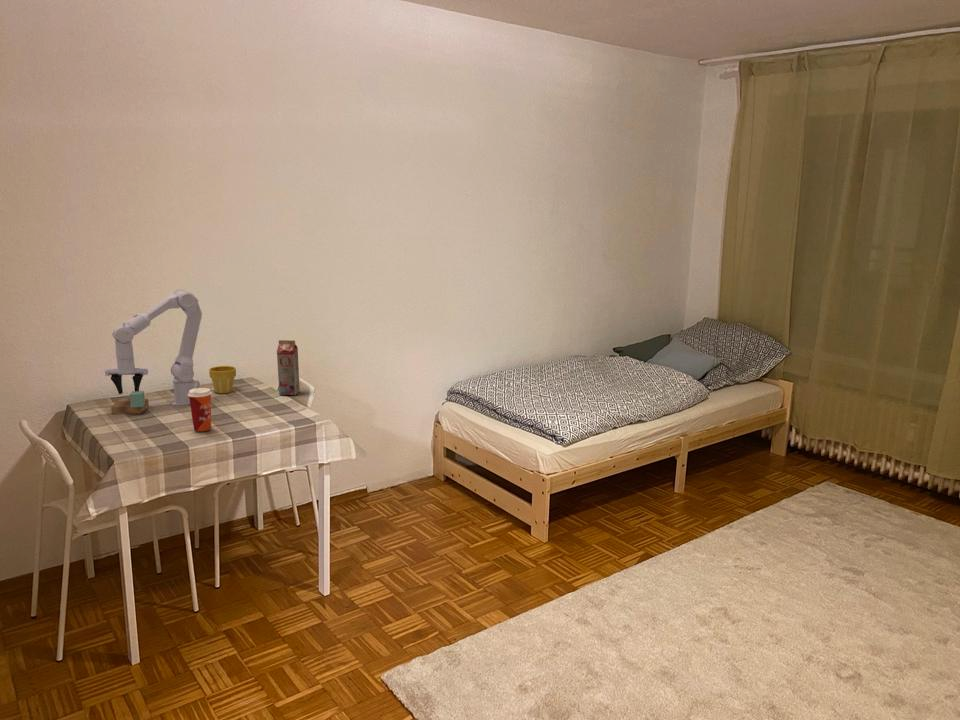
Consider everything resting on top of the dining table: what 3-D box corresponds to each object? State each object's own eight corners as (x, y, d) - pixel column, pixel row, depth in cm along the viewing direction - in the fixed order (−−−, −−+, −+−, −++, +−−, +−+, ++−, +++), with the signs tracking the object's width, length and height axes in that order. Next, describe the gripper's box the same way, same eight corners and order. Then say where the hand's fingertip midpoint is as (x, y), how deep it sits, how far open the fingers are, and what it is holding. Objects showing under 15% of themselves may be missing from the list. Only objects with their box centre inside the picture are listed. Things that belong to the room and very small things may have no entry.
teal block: (145, 403, 271) (143, 390, 270) (142, 406, 268) (141, 393, 266) (133, 404, 271) (132, 391, 269) (130, 407, 267) (129, 394, 266)
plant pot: (240, 387, 306) (238, 365, 303) (233, 394, 295) (231, 371, 293) (215, 388, 305) (213, 365, 303) (207, 394, 295) (205, 371, 293)
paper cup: (207, 433, 249) (204, 393, 246) (186, 431, 250) (183, 392, 247) (218, 426, 256) (215, 387, 253) (198, 424, 258) (195, 386, 254)
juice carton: (295, 394, 296) (292, 342, 291) (279, 394, 296) (276, 341, 291) (299, 390, 303) (297, 338, 297) (283, 390, 303) (281, 338, 298)
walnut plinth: (148, 406, 279) (148, 398, 278) (140, 413, 269) (139, 406, 268) (121, 406, 278) (120, 399, 277) (111, 414, 268) (111, 406, 267)
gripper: (149, 355, 274) (152, 390, 277) (108, 356, 272) (112, 391, 275) (143, 359, 267) (146, 395, 270) (101, 360, 265) (105, 396, 268)
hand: (128, 393), depth 272 cm, fingers open, 5 cm apart
